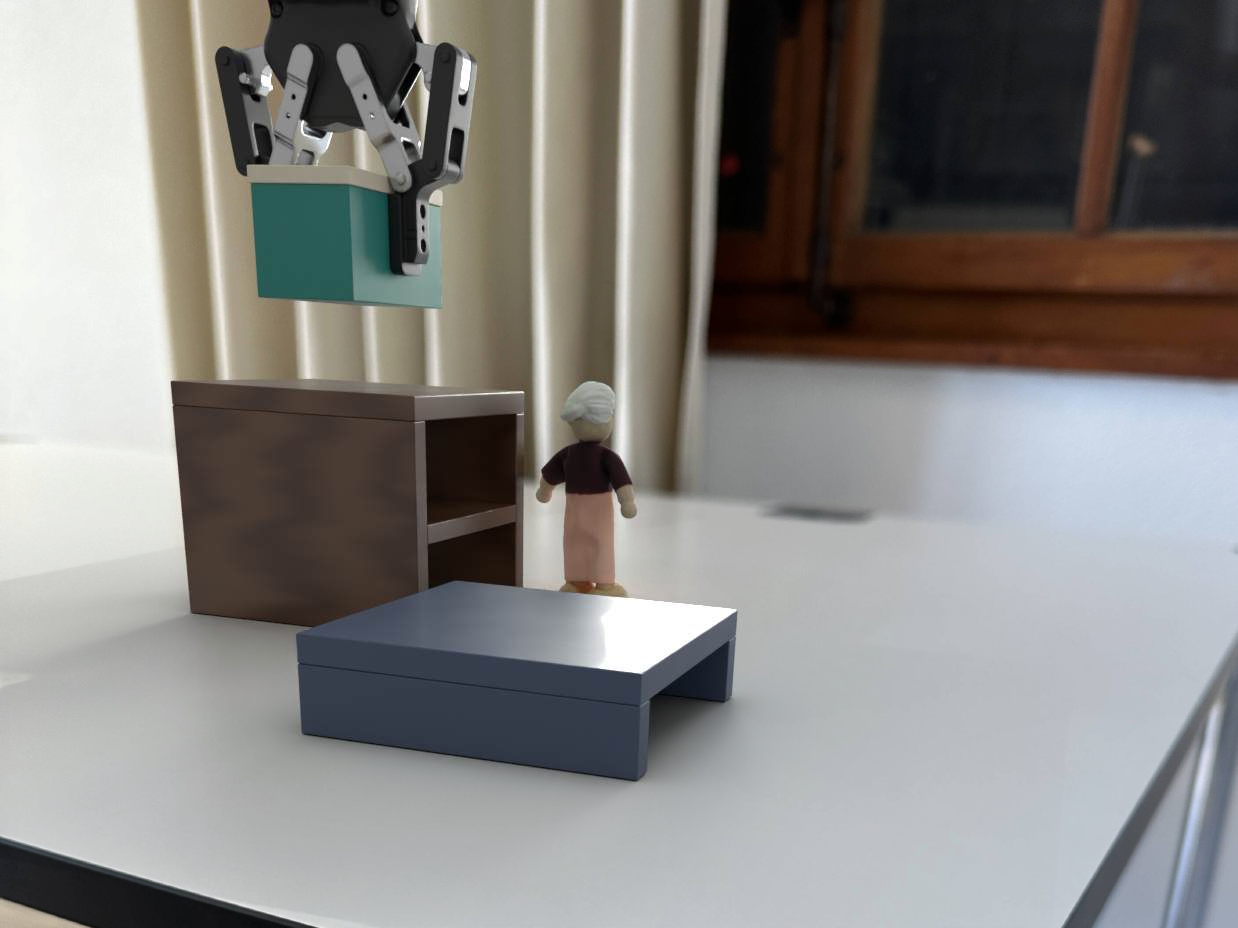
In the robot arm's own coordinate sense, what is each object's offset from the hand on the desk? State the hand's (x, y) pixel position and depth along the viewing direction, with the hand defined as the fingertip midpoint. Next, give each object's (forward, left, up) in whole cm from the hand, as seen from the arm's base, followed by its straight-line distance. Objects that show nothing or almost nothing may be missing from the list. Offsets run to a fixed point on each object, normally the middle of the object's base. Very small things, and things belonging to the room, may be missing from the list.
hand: (352, 272), depth 70 cm
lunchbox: (0, 0, -2) cm, 2 cm away
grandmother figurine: (+10, +10, -18) cm, 23 cm away
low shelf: (+18, -18, -18) cm, 31 cm away
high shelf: (0, 0, -18) cm, 18 cm away
